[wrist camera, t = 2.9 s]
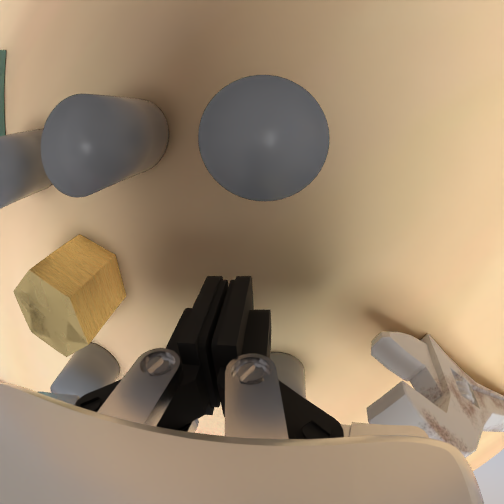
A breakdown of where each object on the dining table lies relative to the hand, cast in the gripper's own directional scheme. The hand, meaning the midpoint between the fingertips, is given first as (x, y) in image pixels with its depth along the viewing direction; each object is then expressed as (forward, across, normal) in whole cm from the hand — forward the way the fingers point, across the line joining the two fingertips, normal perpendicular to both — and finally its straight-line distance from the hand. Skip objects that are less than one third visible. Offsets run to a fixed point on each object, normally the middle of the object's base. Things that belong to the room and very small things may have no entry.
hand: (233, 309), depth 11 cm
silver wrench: (+3, -17, +10) cm, 20 cm away
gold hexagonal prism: (+2, +8, 0) cm, 8 cm away
